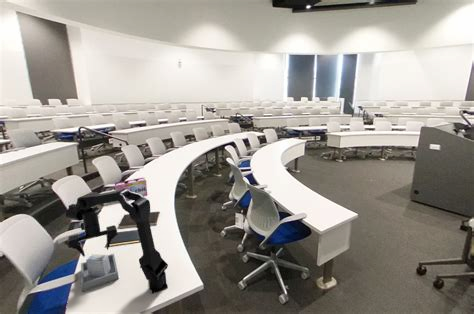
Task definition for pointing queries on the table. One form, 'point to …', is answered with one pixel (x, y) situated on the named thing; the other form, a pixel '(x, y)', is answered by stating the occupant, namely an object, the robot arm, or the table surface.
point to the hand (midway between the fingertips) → (96, 252)
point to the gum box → (133, 186)
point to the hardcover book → (129, 222)
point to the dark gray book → (125, 238)
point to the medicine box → (98, 265)
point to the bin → (95, 281)
